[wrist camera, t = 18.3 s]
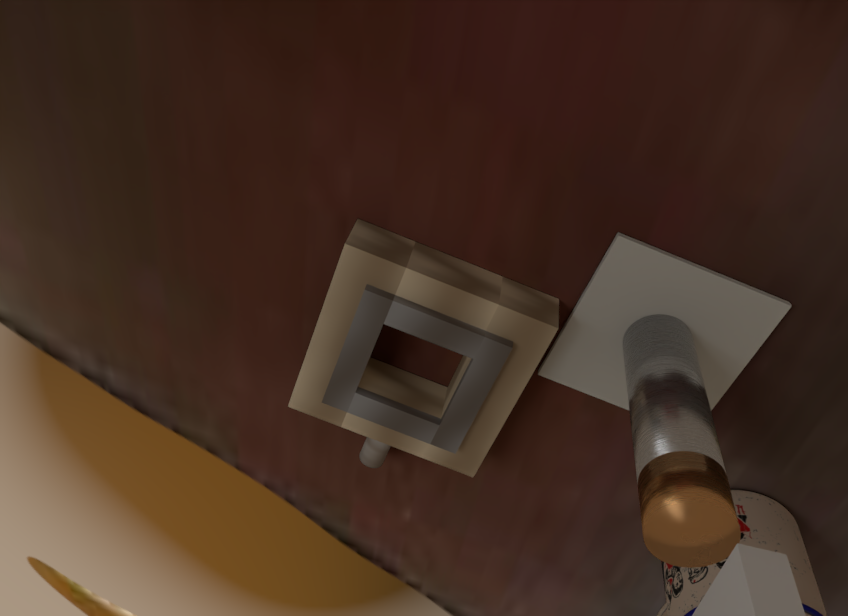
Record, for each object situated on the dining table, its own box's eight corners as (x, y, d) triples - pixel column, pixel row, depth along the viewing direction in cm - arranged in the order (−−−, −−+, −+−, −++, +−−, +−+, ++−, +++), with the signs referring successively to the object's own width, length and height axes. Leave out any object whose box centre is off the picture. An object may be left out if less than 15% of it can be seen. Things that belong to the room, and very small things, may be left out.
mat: (538, 370, 47) (537, 374, 46) (617, 231, 41) (618, 235, 41) (691, 430, 47) (692, 435, 47) (790, 302, 42) (791, 306, 41)
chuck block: (290, 409, 51) (272, 447, 48) (357, 218, 43) (342, 249, 40) (460, 474, 52) (454, 515, 49) (559, 299, 44) (558, 335, 41)
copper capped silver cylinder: (634, 307, 43) (661, 493, 31) (703, 323, 43) (755, 515, 31) (613, 361, 45) (631, 555, 33) (678, 377, 45) (719, 576, 33)
